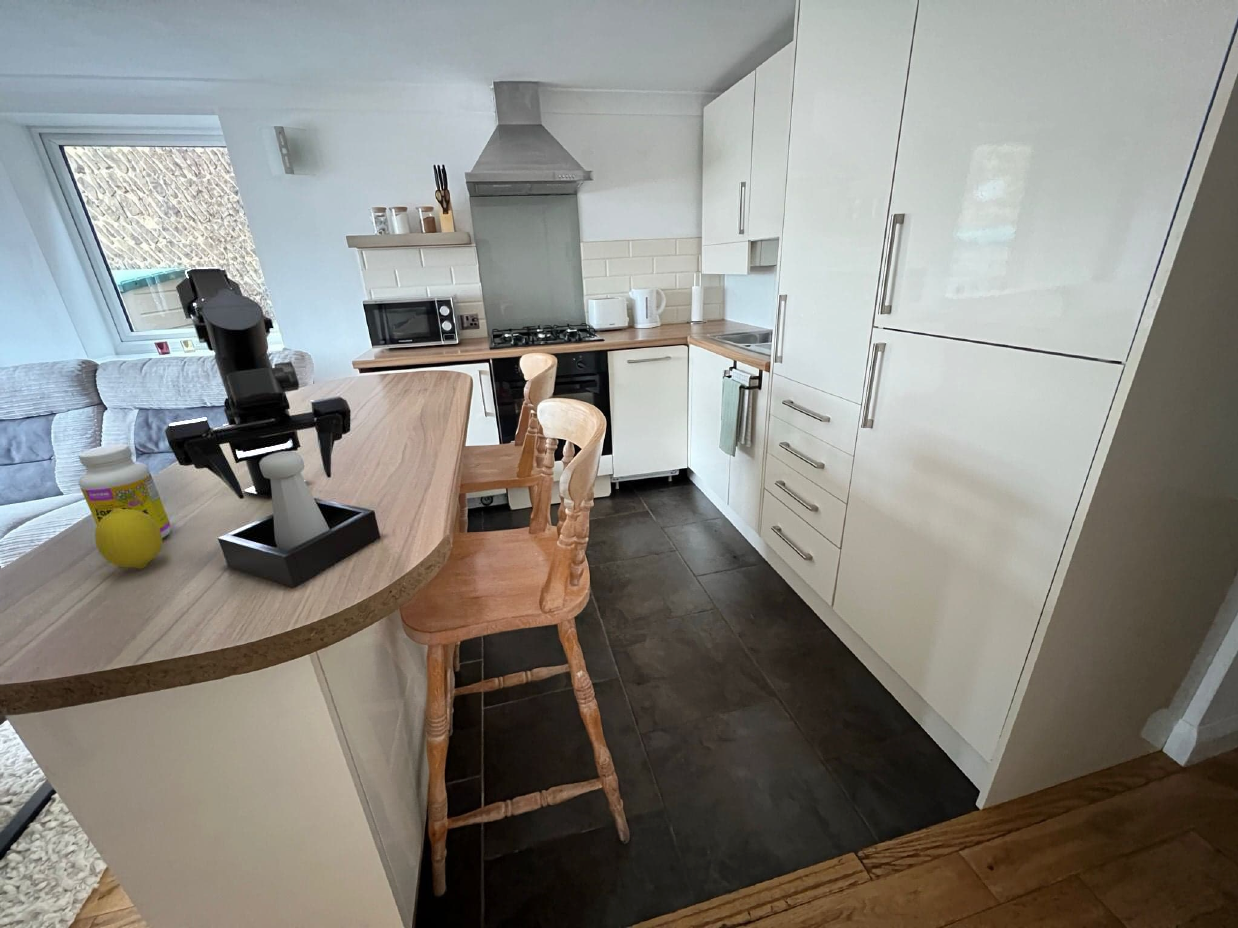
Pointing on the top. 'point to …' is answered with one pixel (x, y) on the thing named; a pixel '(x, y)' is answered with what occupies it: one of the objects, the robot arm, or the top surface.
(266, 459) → the salt shaker
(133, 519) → the lemon
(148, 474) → the supplement bottle
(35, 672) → the top surface
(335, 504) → the black rectangular open frame
